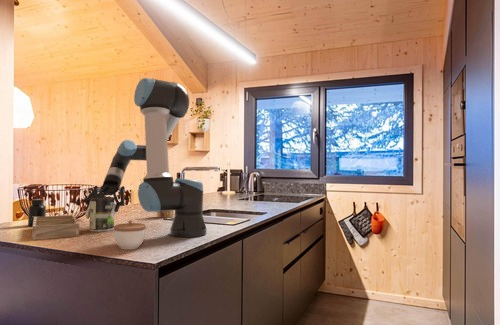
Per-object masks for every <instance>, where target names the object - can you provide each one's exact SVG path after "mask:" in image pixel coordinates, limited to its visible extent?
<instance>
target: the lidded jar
mask: <svg viewBox="0 0 500 325" xmlns="http://www.w3.org/2000/svg"><path fill="white" fill-rule="evenodd" d="M132 221H133V220H128V222H127V223H118V224H116V225H115V224H114V230H113V235H114V241H115V243H116V244H117V246H118V247H119V248H120V249H121V250H136V249H138V248H139V247H140V246H141V245H142V243H143V242H144V241H145V237H146V229H147V225H146V224H144V223H141V222H139V223H138V222H132Z"/></svg>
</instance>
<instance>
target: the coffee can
mask: <svg viewBox="0 0 500 325" xmlns="http://www.w3.org/2000/svg"><path fill="white" fill-rule="evenodd" d="M114 203H115V198H114V196H104V197H92V198H90V217H89V228H88V229H89V231H90V232H94V233H95V232H97V233H98V232H99V233H101V232H111V231H114V226H115V218H114V219H111V217H110V214H111V211H112V208H113V205H114Z"/></svg>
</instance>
